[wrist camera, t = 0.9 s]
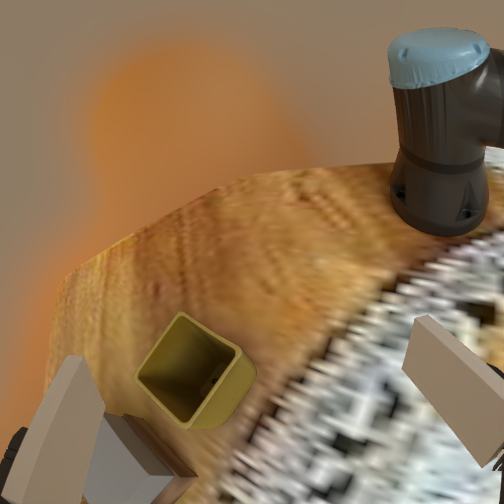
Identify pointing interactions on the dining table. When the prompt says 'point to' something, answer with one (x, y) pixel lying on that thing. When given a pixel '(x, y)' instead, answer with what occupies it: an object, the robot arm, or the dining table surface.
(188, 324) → the flower pot
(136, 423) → the walnut base slab
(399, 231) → the dining table surface
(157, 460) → the grey top slab
